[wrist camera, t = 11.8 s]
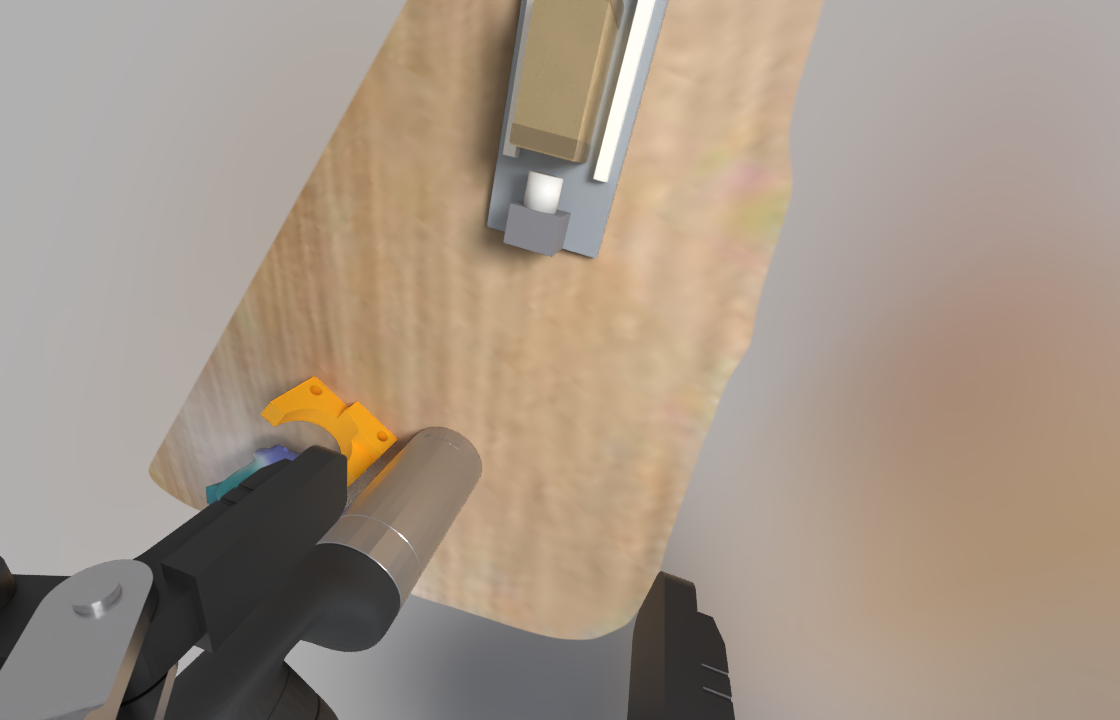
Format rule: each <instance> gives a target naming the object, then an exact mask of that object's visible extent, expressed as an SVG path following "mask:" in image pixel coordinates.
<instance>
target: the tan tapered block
mask: <svg viewBox="0 0 1120 720" xmlns="http://www.w3.org/2000/svg"><path fill="white" fill-rule="evenodd" d="M623 12H624V3H623V0H534V2H533V8H532V14H531V20H530V26H529V32H528V38H527V44H526V50H525V56H524V62H523V69H522V75H521V81H520V87H519V93H518V99H517V105H516V111H515V117H514V123H512V128H511V134H510V140H509V143H510V144H511V145H514V146H518V147H522V148H525V149H529V150H533V151H537V152H540V153H544V154H548V155H551V156H555V157H559V158H563V159H566V160H570V161H574V162H581V163H586V162H587V161H588V157H589V152H590V148H591V142H592V137H593V133H594V129H595V125H596V121H597V117H598V113H599V108H600V104H601V100H602V96H603V92H604V88H605V84H606V79H607V75H608V71H609V67H610V63H611V59H612V55H613V50H614V46H615V42H616V38H617V34H618V30H619V29H620V24H621V20H622V16H623Z"/></svg>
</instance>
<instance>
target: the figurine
mask: <svg viewBox="0 0 1120 720" xmlns="http://www.w3.org/2000/svg"><path fill="white" fill-rule="evenodd" d="M252 456H253V457H254V458H255V460H254V461H253V462H251V463H250V464H249V465H247V466H245V467H244V468H242V469H240V470H238V471H237V472H235V473H234V474H232V475H231V476H230V477H228V478H227V479H226V480H224V481H222V482H219V483H217V484H214V485H211V486H209V487H206V494H207V503H208V504H209V505H210V504H212V503H213V502H215V501H219V500H220V498H221V496H223V495H224V494H226V493H227V492H228V491H230V490H231V489H232V488H234V487H235V488H236V487H238V485H239V483H241V482H242V481H243V480H245V479H246V478H248V477H249V476H250V475H252V474H253V473H254V472H256V471H257V470H259V469H260V468H262V467H265V466H267V465H270V464H272V463H275V462H277V461H280V460H282V459H285V458H286V459H289V460H294V459H295V458H296V457H298V456H299V454H297V453H295V452H293V451H290V450H288V449H286V447H282V446H280V445H278V444H277V445H275V446H274V447H272V448H270V449H262V448H260V449H258V450H256V451H255V453H254V454H253V455H252Z"/></svg>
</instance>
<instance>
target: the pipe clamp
mask: <svg viewBox="0 0 1120 720" xmlns="http://www.w3.org/2000/svg"><path fill="white" fill-rule="evenodd" d="M261 415H262V416H263V417H264V418H265V419H266V420H267V421H268V422H270V423H271V424H272V425H273V426H274V427H276V426H277V425H279V424H282V423H285V422H288V421H308V422H312V423H315V424H317V425H319V426H321V427H323V428H325V429H326V430H327V431H329V432H330V433H331V434H332V435H333V436H334V438H335V439H336V440H337V442H338V444H339V446H340V449H341V454H343V455H345V456H346V457H347V488H348V487H349V486H350V485H351V484H352V483H353V482H354V481H356V480H357V479H358V478H359V477H360V476H361V475H362V474H363V473H364V472H365V471H366V470H367V469H368V468H369V467H370V466H371V465H372V464H373V463H374V462H375V461H376V460H377V459H378V458H379V457H380V456H381V455H382V454H383V453H384V452H385V451H386V450H387V449H388V448H389V447H390V446H391V445H392V444H393V443H394V442H395V441H396V440H397V438H396V437H395V436H394V435H393V434H392V433H391V432H390V431H389V430H388V429H386V428H385V427H384V426H383V425H382V424H381V423H380V422H379V421H378V420H377V419H376V418H375V417H374V416H373V415H372V414H371V413H369V412H368V411H367V410H366V409H365V408H364V407H363V406H362V405H361V404H360V403H359V402H358V401H357V402H356V403H354V404H353V405H352V406H350V407H348V406H346V405H345V404H344V403H343V402H342V401H341V400H340V399H339V398H338V397H337V396H336V395H335V394H334V393H333V392H331V391H330V390H329V389H328V388H327V387H326V386H325V385H324V384H323V383H322V382H321V381H320V380H319V379H318V378H316V377H315V376H314V377H312V378H310V379H309V380H307V381H305V382H303V383H302V384H300V385H298V386H297V387H295V388H293V389H291V390H290V391H288V392H286V393H284V394H283V395H281V396H279V397H278V398H276V399H274V400H272V401H271V402H270V403H269V404H268V405H267V407H266V408H265V409H264V411H263V412H262V413H261Z"/></svg>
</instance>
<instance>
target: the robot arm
mask: <svg viewBox="0 0 1120 720" xmlns="http://www.w3.org/2000/svg"><path fill="white" fill-rule="evenodd" d="M481 472H482V462H481V459H480V456H479V454H478V452H477V450H476V449H475V447H474V446H473V445H472V443H471V442H470V441H468V440H467V439H466V438H465V437H464V436H462V435H461V434H459V433H457V432H455V431H453V430H451V429H447V428H443V427H431V428H426V429H424V430H422V431H420V432H419V433H418V434H416V435H415V436H414V438H413V439H412V440H411V441H410V442H409V443H408V444H407V445H406V446H405V447H404V448H403V449H402V450H401V451H400V452H399V453H398V454H397V455H396V456H395V457H394V458H393V459H392V460H391V462H390V463H389V464H388V465H387V466H386V467H385V468H384V469H383V470H382V471H381V472H380V473H379V474H378V475H377V476H376V477H375V478H374V479H373V480H372V482H371V483H370V484H369V485H368V486H367V487H366V488H365V489H364V490H363V491H362V492H361V493H360V494H359V495H358V496H357V497H356V498H355V499H354V501H353V502H352V503H351V504H350V505H349V506H348V507H347V508H346V509H345V510H344V508H345V505H346V502H347V457H346V456H345V455H343V454H340V453H337V452H335V451H332V450H329V449H326V448H324V447H321V446H318V445H315V446H312V447H310V448H308V449H307V450H305V451H304V452H303V453H302V454H300V455H299V456H298V457H296V458H295V459H294V460H289V459H286V458H285V459H282V460H280V461H277V462H275V463H272V464H270V465H267V466H265V467H262V468H260V469H259V470H257V471H256V472H254V473H253V474H252V475H250V476H249V477H248V478H246V479H245V480H243V481H242V482H241V483H239V485H238V487H236V488H235V487H234V488H232V489H231V490H230V491H228V492H227V493H226V494H224V495H223V496H221V498H220V500H219V501H215V502H213V503H212V504H210V505H209V506H208V507H206V508H205V509H204V510H202V511H201V512H199V513H198V514H197V515H195V516H194V517H193V518H191V519H190V520H189V521H187V522H186V523H185V524H183V525H182V526H180V527H179V528H178V529H176V530H175V531H173V532H172V533H171V534H169V535H168V536H167V537H165V538H164V539H163V540H161V541H160V542H158V543H157V544H156V545H154V546H153V547H151V548H150V549H149V550H147V551H146V552H144V553H143V554H142V555H140V556H138V557H136V558H135V559H133V560H115V561H109V562H105V563H101V564H98V565H95V566H92V567H90V568H87V569H85V570H83V571H81V572H79V573H76V574H75V575H73V576H46V575H16V574H11V572H10V570H9V568H8V567H7V565H6V563H5V561H4V559H3V558H2V557H1V556H0V720H338V718H337V716H336V715H335V713H334V712H333V710H332V709H331V708H330V707H329V706H328V705H327V703H326V702H325V701H324V700H323V699H322V698H321V697H320V696H319V695H318V694H317V693H315V691H314V690H313V689H312V688H311V687H310V686H309V685H308V684H307V683H306V682H305V681H304V680H303V679H302V678H301V677H300V676H299V675H298V674H297V673H296V672H295V671H294V670H293V669H292V668H291V667H290V666H289V665H288V664H287V663H286V662H285V661H284V658H285V657H286V655H287V654H288V653H289V652H290V650H291V649H292V648H293V647H294V646H295V645H296V644H297V643H298V642H299V641H300V640H303V641H307V642H311V643H314V644H316V645H320V646H322V647H325V648H329V649H332V650H337V651H344V652H357V651H362V650H366V649H369V648H371V647H372V646H374V645H375V644H377V643H378V642H379V641H380V640H381V639H382V638H383V636H384V635H385V634H386V632H387V631H388V629H389V628H390V626H391V624H392V622H393V621H394V619H395V617H396V616H397V614H398V612H399V610H400V609H401V608H402V606H403V604H404V602H405V601H406V599H407V598H408V596H409V594H410V593H411V591H412V589H413V588H414V586H415V584H416V583H417V581H418V579H419V577H420V576H421V574H422V573H423V571H424V569H425V568H426V566H427V564H428V563H429V561H430V559H431V558H432V556H433V554H434V553H435V551H436V549H437V548H438V546H439V545H440V543H441V541H442V540H443V538H444V536H445V535H446V533H447V531H448V530H449V528H450V526H451V525H452V523H453V521H454V520H455V518H456V516H457V515H458V513H459V512H460V510H461V508H462V507H463V505H464V504H465V502H466V500H467V499H468V497H469V495H470V494H471V492H472V490H473V489H474V487H475V485H476V484H477V482H478V480H479V478H480V477H481ZM343 510H344V511H343ZM194 645H195V646H197V647H200V648H202V649H204V650H205V651H203V652H202V653H201V654H200V655H199V656H198V657H197V658H196V659H195V660H194V661H193V662H192V663H191V664H190V665H189V666H187V668H185V669H184V670H183V671H182V672H181V673H180V674H179V675H178V676H177V677H176V678H175V676H176V673H177V669H178V661H179V660H180V659H181V658H182V657H183V656H184V655H185V654H186V653H187V651H189V650H190V649H191V648H192V646H194ZM728 673H729V672H728V663H727V657H726V648H725V643H724V641H723V639H722V637H721V634H720V632H719V630H718V628H717V626H716V624H715V621H714V619H713V617H711V616H708V615H705V614H703V613H700V612H697V600H696V589H695V585H694V583H692V582H690V581H687V580H685V579H682V578H679V577H676V576H673V575H670V574H668V573H665V572H662V571H660V572H659V573H658V575H657V577H656V579H655V581H654V583H653V585H652V587H651V588H650V590H649V592H648V594H647V596H646V598H645V600H644V602H643V604H642V606H641V608H640V610H639V613H638V615H637V619H636V622H635V627H634V632H633V641H632V657H631V671H630V686H629V702H628V716H627V720H735V717H734V709H733V703H732V702H731V697H732V694H731V686H730V679H729V678H728Z"/></svg>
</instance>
